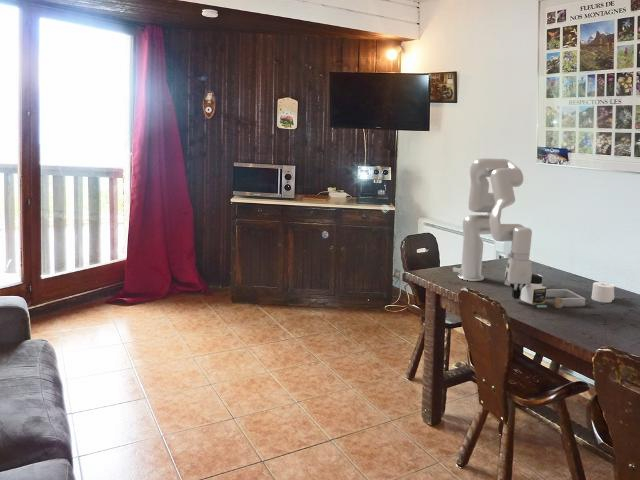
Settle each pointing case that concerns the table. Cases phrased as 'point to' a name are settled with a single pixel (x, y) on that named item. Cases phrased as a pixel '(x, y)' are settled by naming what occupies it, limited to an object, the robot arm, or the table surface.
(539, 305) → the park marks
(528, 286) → the medicine bottle
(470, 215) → the robot arm
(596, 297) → the toilet paper
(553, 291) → the index socket
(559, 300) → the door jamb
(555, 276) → the table surface
